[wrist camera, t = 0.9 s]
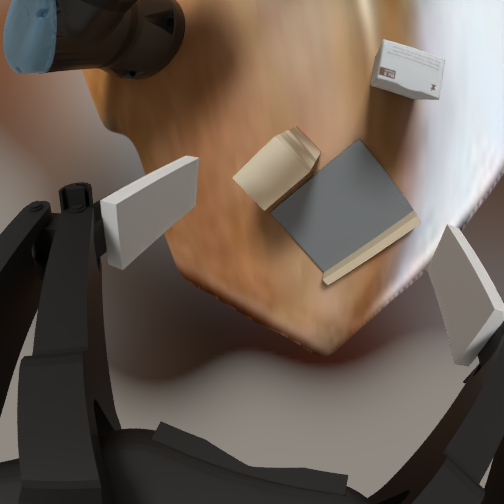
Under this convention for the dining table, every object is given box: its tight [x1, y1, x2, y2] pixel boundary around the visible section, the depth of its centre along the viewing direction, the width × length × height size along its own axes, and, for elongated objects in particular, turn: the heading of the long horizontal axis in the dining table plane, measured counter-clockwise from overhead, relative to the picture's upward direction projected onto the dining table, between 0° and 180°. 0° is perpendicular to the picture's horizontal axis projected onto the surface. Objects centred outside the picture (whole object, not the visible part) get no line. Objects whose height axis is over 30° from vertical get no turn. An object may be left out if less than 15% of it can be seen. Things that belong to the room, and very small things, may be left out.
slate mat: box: [271, 139, 421, 285], centre depth 38 cm, size 13×16×3 cm
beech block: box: [233, 127, 321, 211], centre depth 33 cm, size 4×6×12 cm
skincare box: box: [371, 39, 445, 100], centre depth 24 cm, size 6×4×12 cm
